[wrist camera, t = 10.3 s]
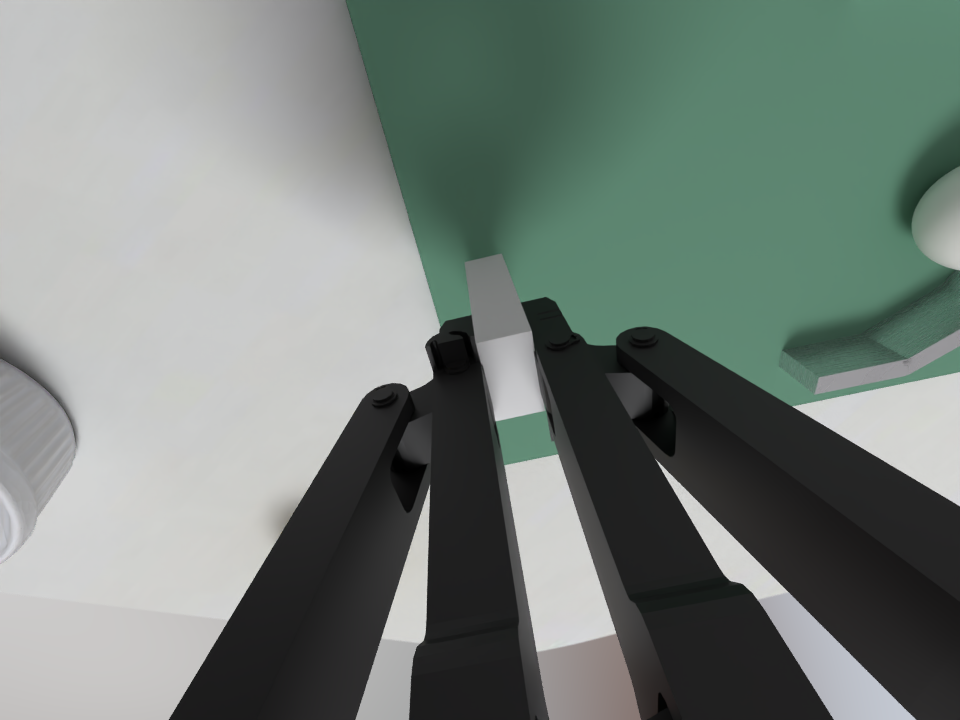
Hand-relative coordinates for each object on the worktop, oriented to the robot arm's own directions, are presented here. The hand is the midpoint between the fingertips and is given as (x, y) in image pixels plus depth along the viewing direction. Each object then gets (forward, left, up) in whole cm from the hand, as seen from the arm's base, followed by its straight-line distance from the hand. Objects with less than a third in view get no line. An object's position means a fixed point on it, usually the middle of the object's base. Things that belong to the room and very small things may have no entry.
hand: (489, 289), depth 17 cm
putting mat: (0, +11, -2) cm, 12 cm away
